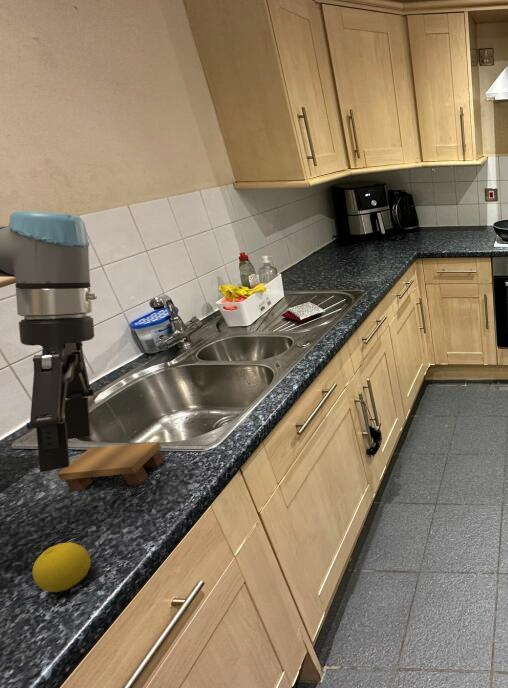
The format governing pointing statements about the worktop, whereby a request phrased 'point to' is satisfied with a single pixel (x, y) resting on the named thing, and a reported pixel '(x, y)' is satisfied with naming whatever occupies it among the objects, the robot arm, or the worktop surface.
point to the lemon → (61, 567)
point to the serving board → (112, 464)
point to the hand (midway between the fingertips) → (67, 451)
